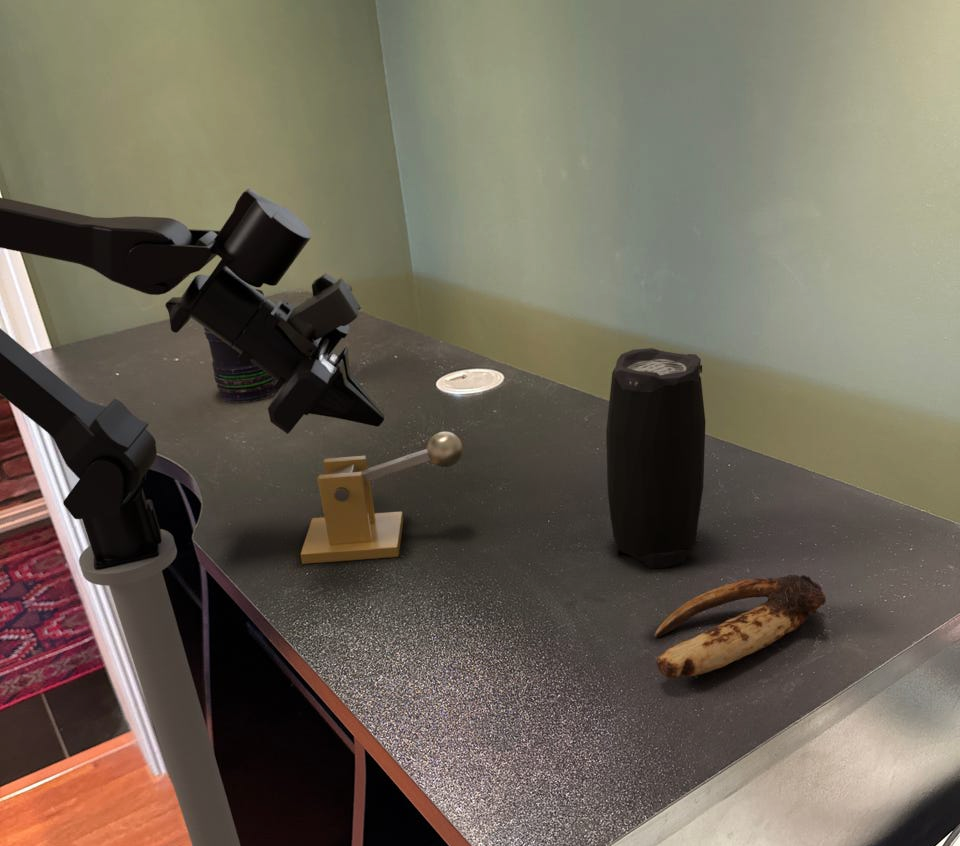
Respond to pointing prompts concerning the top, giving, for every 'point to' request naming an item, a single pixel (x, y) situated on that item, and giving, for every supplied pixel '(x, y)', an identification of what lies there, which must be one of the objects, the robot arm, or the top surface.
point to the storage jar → (238, 373)
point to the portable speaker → (655, 454)
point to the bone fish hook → (739, 623)
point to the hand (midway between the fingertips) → (381, 421)
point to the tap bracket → (350, 519)
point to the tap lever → (416, 457)
